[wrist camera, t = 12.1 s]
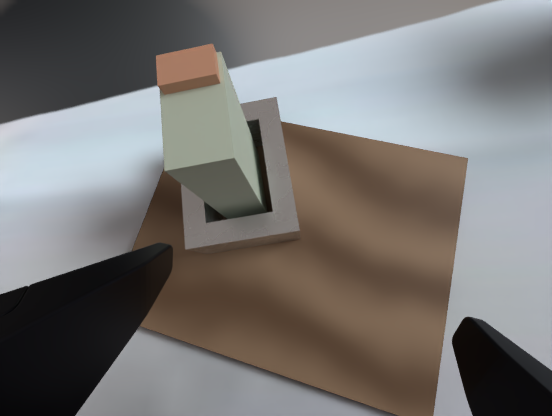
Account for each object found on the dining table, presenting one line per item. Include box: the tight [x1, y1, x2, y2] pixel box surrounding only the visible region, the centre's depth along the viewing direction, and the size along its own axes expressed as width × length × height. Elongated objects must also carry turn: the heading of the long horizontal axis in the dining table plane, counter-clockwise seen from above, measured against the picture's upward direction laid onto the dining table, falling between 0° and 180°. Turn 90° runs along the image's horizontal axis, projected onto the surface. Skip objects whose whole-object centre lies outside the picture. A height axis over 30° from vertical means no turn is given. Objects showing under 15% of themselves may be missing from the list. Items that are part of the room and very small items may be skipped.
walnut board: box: [132, 122, 468, 416], centre depth 22 cm, size 19×24×1 cm
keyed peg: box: [156, 44, 267, 219], centre depth 17 cm, size 5×3×12 cm, turn 9°
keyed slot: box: [181, 97, 300, 254], centre depth 21 cm, size 10×8×4 cm
